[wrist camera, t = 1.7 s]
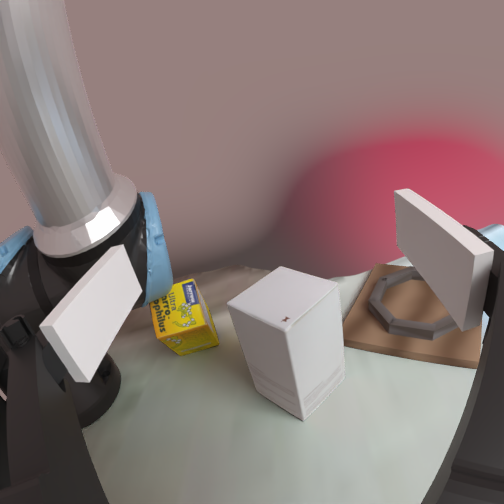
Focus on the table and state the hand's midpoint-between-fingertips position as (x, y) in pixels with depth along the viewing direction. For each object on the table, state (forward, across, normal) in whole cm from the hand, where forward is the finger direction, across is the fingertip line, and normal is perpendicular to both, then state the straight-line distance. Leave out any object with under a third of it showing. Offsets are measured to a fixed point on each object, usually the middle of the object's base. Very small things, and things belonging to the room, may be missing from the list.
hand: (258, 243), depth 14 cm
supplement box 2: (+10, 0, -22) cm, 24 cm away
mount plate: (+18, +17, -22) cm, 33 cm away
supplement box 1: (+21, -14, -21) cm, 33 cm away
